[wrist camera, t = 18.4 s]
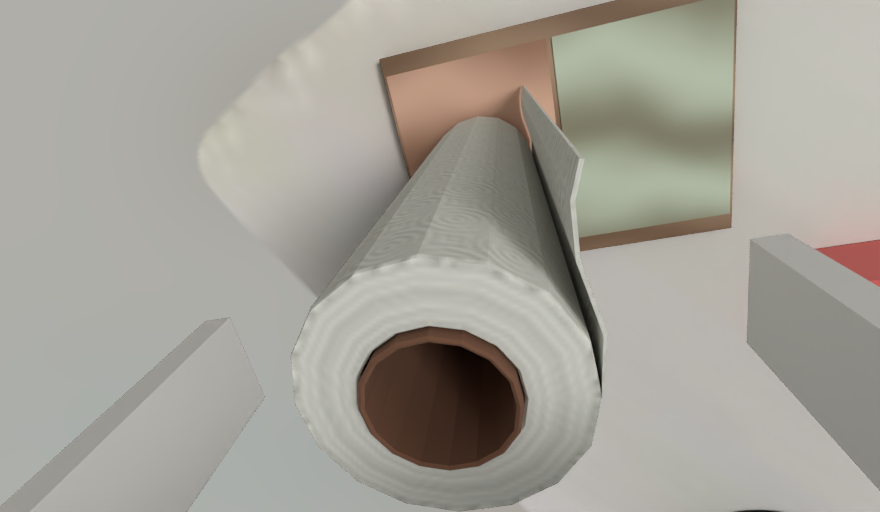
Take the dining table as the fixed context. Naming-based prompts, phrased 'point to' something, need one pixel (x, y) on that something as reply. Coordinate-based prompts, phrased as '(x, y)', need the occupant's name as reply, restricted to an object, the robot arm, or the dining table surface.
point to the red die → (858, 258)
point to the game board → (598, 107)
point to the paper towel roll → (462, 327)
